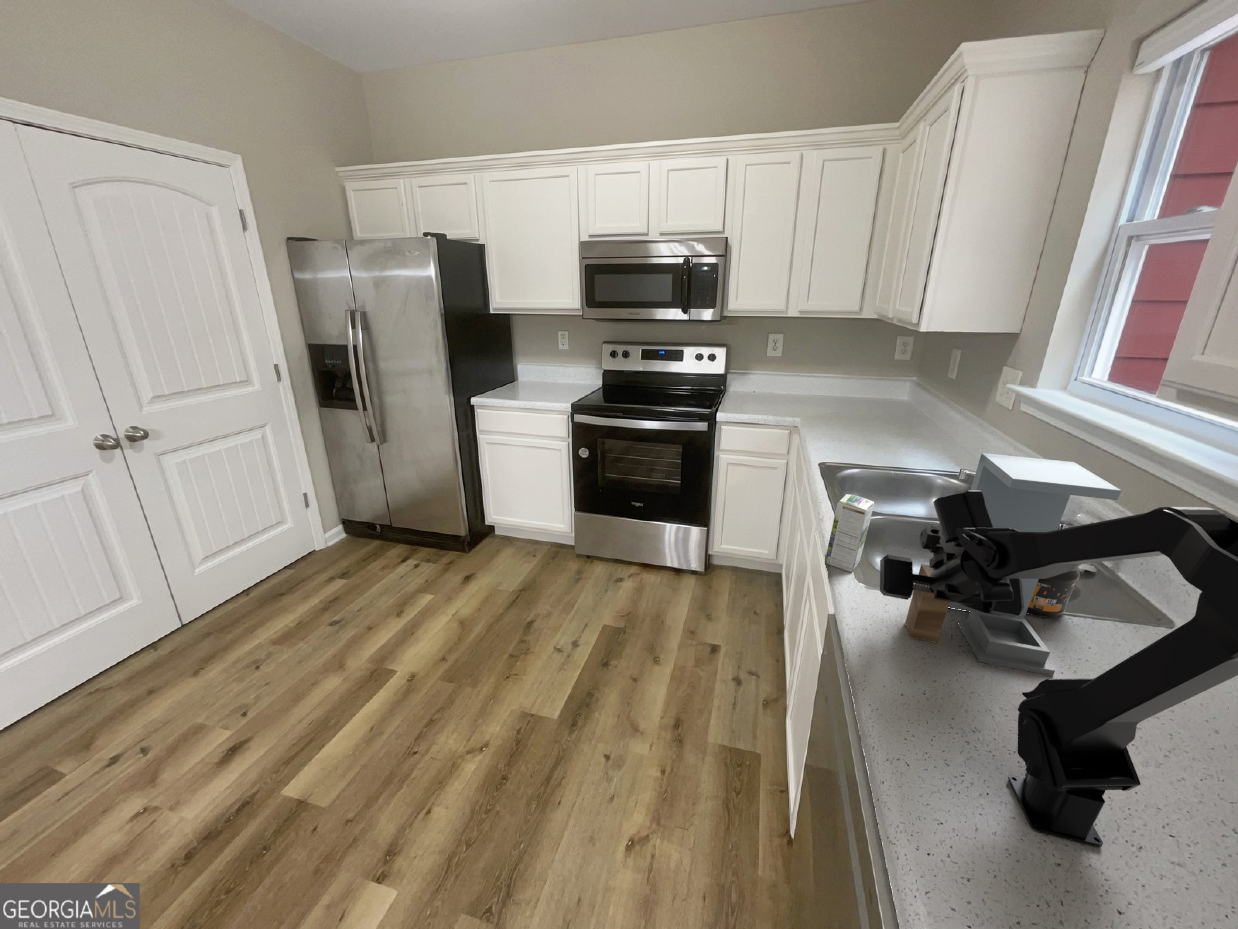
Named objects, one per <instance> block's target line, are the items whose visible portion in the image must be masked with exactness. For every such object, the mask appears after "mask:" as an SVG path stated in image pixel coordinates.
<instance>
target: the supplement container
mask: <svg viewBox="0 0 1238 929" xmlns="http://www.w3.org/2000/svg"><path fill="white" fill-rule="evenodd" d="M1080 566H1081V565H1078V566H1075V567H1073V568H1072V569H1071V570H1070V571H1068V572H1066V573H1063V574H1059V575H1056V576H1053V577H1050V578H1045V579H1039V580H1038V583H1037V585H1036V588H1035V591H1034V593H1033V596H1032V599H1031V601H1030V604H1029V607H1028V609H1027V612H1026V614H1027V613H1029V614H1028V615H1030V614H1032V615H1031V616H1034V615H1035V616H1034V617H1038V616H1040V618H1056V617H1060V616H1062V615H1063V614H1064V613H1065V612H1066V610H1067V606H1068V602H1069V600H1070V598H1071V595H1072V593H1073V591H1074V588H1075V586H1076V584H1077V581H1078V580H1079V579H1080V574H1081V573H1080V571H1079V567H1080Z"/></svg>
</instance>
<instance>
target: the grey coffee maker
mask: <svg viewBox="0 0 1238 929" xmlns="http://www.w3.org/2000/svg"><path fill="white" fill-rule="evenodd" d="M970 487H971V488H970V490H980V491H982V494H983V496H984V500H985V505H986V508H987V511H988V514H989V517H990V520H991V523H992V525H993V527H992V528H1015V529H1017V530H1020V531H1023V532H1048V531H1054V530H1059V526H1060V523H1061V522H1062V518H1063V516H1064V514H1065V510H1066V507H1067V506H1068V505H1067V504H1068V502H1069V500H1070V497H1071V496H1076V497H1086V498H1093V499H1103V500H1113V501H1118V500H1119V498H1120V495H1121V492H1122V489H1120V488H1119V487H1117V486H1115V485H1113V484H1111V483H1110V482H1108V481H1106V480H1105V479H1103V478H1101V477H1100V476H1098V475H1096V474H1094V473H1093V472H1091V471H1090V470H1088V469H1087V468H1085V467H1083V466H1081V465H1080V464H1078V463H1076V462H1074V461H1067V460H1066V461H1064V460H1056V459H1055V460H1054V459H1046V458H1037V457H1026V456H1016V455H1015V456H1014V455H1005V454H998V453H997V454H994V453H988V452H987V453H986V452H984V453H983V452H982V453H981V454H980V457H979V460H978V464H977V468H976V470H975V473H974V477H973V481H972V484H971V486H970ZM1020 580H1021V581H1022V590H1023V600H1024V610H1023V613H1021V614H1020V615H1019V616H1016V617H1013V618H1019V619H1025V617H1026V614H1027V613H1026V612H1027V609H1028V607H1029V604H1030V601H1031V599H1032V596H1033V593H1034V591H1035V588H1036V585H1037V583H1038V580H1039V579H1020ZM949 607H950V608H955V609H961V610H966V611H971V610H972V611H977V610H974V609H972V608H969V607H966V606H963V605H960V604H958V603H955V602H950V604H949ZM978 612H980V611H978ZM1007 617H1008V616H1007Z"/></svg>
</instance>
